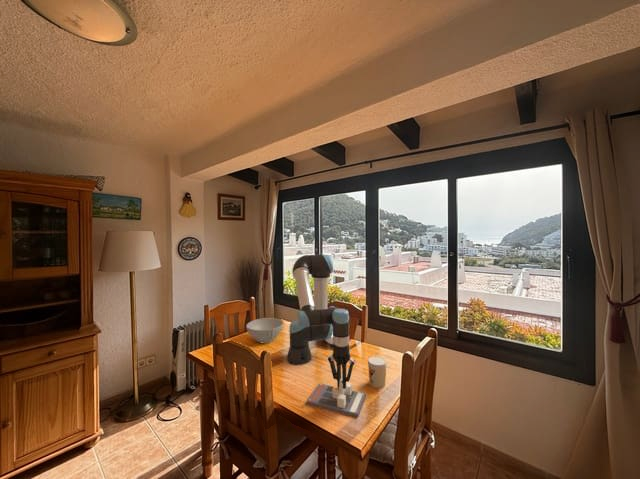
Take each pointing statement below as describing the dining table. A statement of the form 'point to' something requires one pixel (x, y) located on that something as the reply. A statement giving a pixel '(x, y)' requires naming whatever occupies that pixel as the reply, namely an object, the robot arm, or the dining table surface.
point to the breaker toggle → (335, 392)
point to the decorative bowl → (264, 329)
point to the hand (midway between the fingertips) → (342, 394)
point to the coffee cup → (377, 372)
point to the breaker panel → (337, 400)
